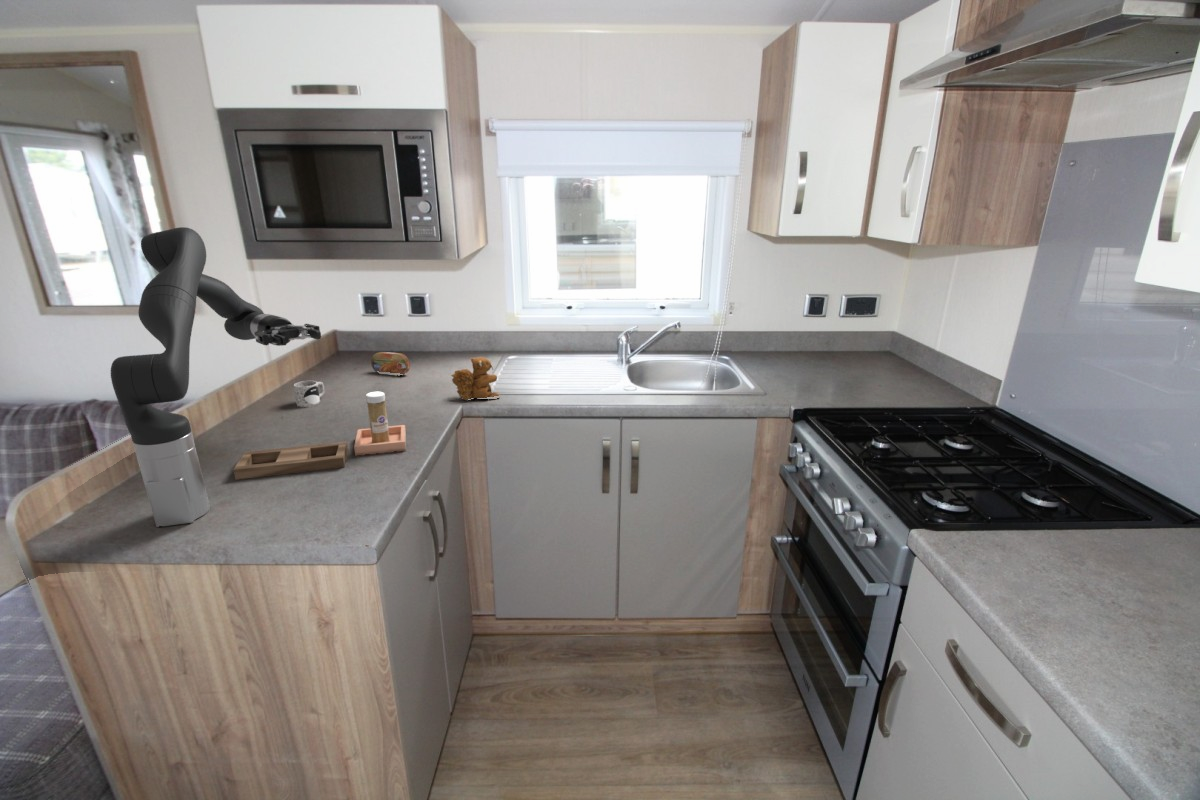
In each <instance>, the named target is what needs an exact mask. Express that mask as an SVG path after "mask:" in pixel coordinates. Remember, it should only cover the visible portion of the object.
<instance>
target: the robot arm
mask: <svg viewBox="0 0 1200 800" xmlns="http://www.w3.org/2000/svg"><path fill="white" fill-rule="evenodd" d="M140 248H141V252H142V254H143V257H144V258H145V260H146V261H147V262H148V263H149V264H148V265H150V266H151V267H152V268H153V269H154V270H155V271H157V272H158V274H156V275H155V276H154V277H153V278H152V279H151V280H150V281H149V282H148V283H147V284H146V286H145V287H144V289H143V291H142V293H141V298H140V301H139V307H138V318H139V321H140V323H141V324H142V326H143V327H144V328H145V329H146V330H147V331H148V332H149V333H150V334H151V336H153V337H154V338H155V339H156V340H157V341H158V342H159V343H161V345H162V346H163V347H164V348H165V350H164V351H163V352H161V353H151V354H138V355H124V356H118V357H117V358H115V359H114V360H113V361H112V363H111V366H110V378H111V379H110V380H111V385H112V388H113V390H114V394H115V396H116V399H117V403H118V404H119V405H118V406H119V407H120V410H121V412H122V416H123V419H124V422H125V425H126V428H127V430H128V433H129V434H130V438H131V441H132V445H133V448H134V451H135V456H136V459H137V463H138V465H139V469H140V473H141V474H140V475H141V476H142V477H141V478H142V480H143V484H144V487H145V491H146V494H147V497H148V502H149V505H150V508H151V512H152V516H153V519H154V523H155V525H156V526H155V527H156V528H159V526H162V527H168V526H175V525H184V524H190V523H191V524H192V523H194V522H195V521H196V519H199V518H201V517H203V516H204V515H206V514H207V513H208V512H209V511H210V508H211V506H210V502H209V501H210V500H209V498H208V493H207V489H206V485H205V481H204V477H203V471H202V469H201V465H200V461H199V456H198V452H197V449H196V444H195V439H194V435H193V431H192V427H191V423H190V420H189V419H188V417H186V416H184V415H182V414H179V413H175V412H174V413H173V412H168V411H164V410H161V409H158V408H157V407H155V406H153V405H152V404H164V403H170V402H171V403H173V402H176V401H180V400H182V399H184V397H186V395H187V394H188V391H189V386H190V385H189V384H190V348H191V338H192V330H193V326H194V320H195V314H196V309H197V297H198V299H200V300H202V301H203V302H204V303H205V304H206V305H207V306H208V307H209V308H210V309H212V310H213V311H214V312H215V313H216V314H217V315H218V316H220V317H221V318H224V319H226V320H225V321H224V326H223V327H224V330H225V332H226V333H227V334H228V335H229V336H231V337H233V338H235V339H237V340H242V341H250V340H253V339H254V340H255V342H256V343H258V344H260V345H263V346H269V345H273V346H277V347H280V346H281V347H282V346H287V344H288V343H290V342H291V341H294V340H306V339H308V338H309V339H314V340H318V341H319V340H321V339H322V334H321V333H322V332H321V330H320V326H319V325H315V324H309V323H304V325H297V324H296V325H294V324H293V323H292V322H291V321H290V320H288V319H287V318H285V317H282V316H278V315H275V314H271V313H270V314H269V313H265V312H264V311H263V310H262V309H261V308H260V307H258V306H257V305H254V304H252V303H250V302H248V301H246V300H244V299H243V298H241V297H240V296H239V295H238V293H236V292H235V291H234V290H233V289H232V287H230V286H229V285H228V284H226V283H225V282H224V281H222V280H220V279H219V278H218V279H217V278H215V277H214V276H213V277H212V276H209V275H207V274H204V273H203V272H204V269H205V266H206V262H207V249H206V245H205V243H204V240H203V239H202V237H201V235H200V234H199V233H198V232H197V231H196V230H194V229H193V228H189V227H183V226H182V227H181V226H180V227H175V228H171V229H167V230H165V229H164V230H161V231H156V232H152V233H149V234H147V235H144V236H143V237H142V239H141V241H140ZM300 335H301V336H300Z"/></svg>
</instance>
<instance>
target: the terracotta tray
mask: <svg viewBox="0 0 1200 800" xmlns="http://www.w3.org/2000/svg"><path fill="white" fill-rule="evenodd" d="M388 432H389V438H390V441H389V442H382V443H372V435H371V431H370V427H369V428H359V429H357V432H356V437H355V441H354V445H353V449H354V455H355V457H358V456H357V455H361V456H366V455H365V454H370V455H377V454H376V453H379V454H385V452H388V453H394V451H397V452H404V451H407V446H406V445H407V444H406V443H407V439H406V438H407V433H406V432H407V431H406V424H401V425H388Z"/></svg>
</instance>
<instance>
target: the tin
mask: <svg viewBox="0 0 1200 800" xmlns="http://www.w3.org/2000/svg"><path fill="white" fill-rule="evenodd" d="M370 362H371V363H370V364H371V367H372V369H373V371H374V372H375V373H376V372H377V371H379V372H390V373H400V374H405V373H406V374H407V373H409V371H410V367H411V364H410V360H409V358H408V357H407V356H406V355H405V354H404V353H401V352H400V353H398V352H387V351H379V352H376V353H373V355H372V357H371V360H370ZM406 374H405V375H406Z"/></svg>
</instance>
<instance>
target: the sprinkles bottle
mask: <svg viewBox="0 0 1200 800" xmlns="http://www.w3.org/2000/svg"><path fill="white" fill-rule="evenodd" d="M365 399H366V401H365V402H366V404H367V410H368V411H367V412H368V421H369V428H370V431H371V435H372V443H382V442H389V441H390V438H389V432H388V426H389V422H388V415H387V408H386V395H385V392H382V391H371V392H368V393H366V395H365Z"/></svg>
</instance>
